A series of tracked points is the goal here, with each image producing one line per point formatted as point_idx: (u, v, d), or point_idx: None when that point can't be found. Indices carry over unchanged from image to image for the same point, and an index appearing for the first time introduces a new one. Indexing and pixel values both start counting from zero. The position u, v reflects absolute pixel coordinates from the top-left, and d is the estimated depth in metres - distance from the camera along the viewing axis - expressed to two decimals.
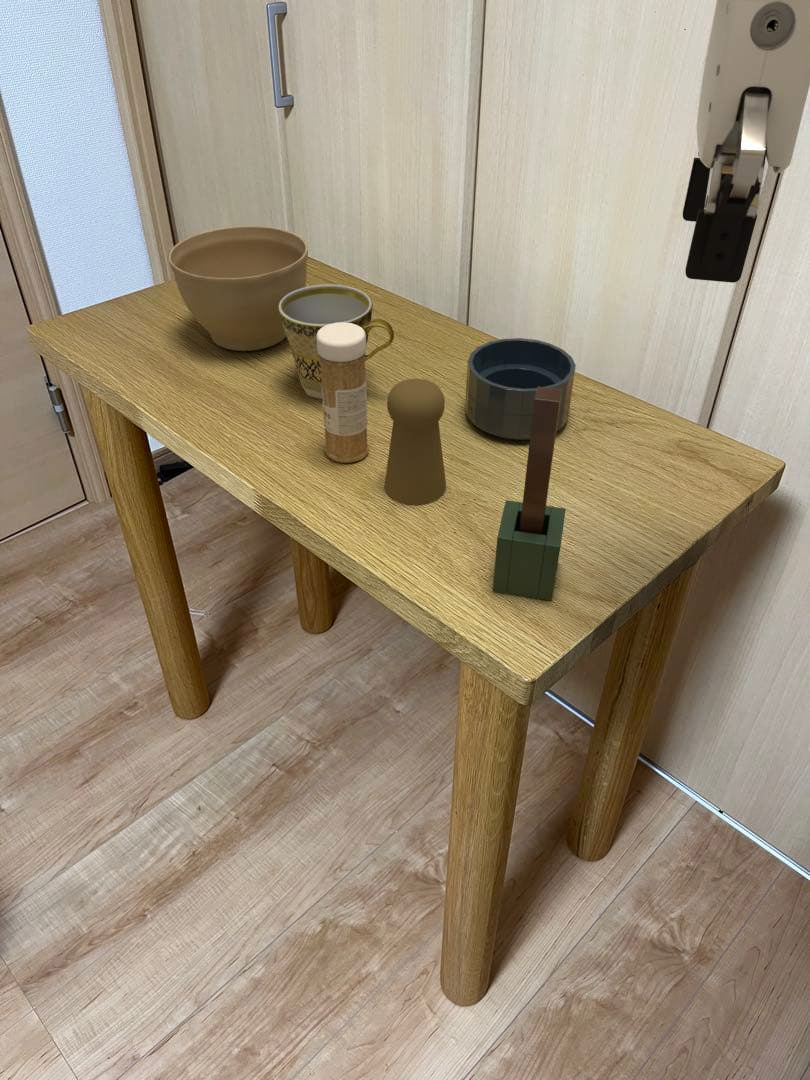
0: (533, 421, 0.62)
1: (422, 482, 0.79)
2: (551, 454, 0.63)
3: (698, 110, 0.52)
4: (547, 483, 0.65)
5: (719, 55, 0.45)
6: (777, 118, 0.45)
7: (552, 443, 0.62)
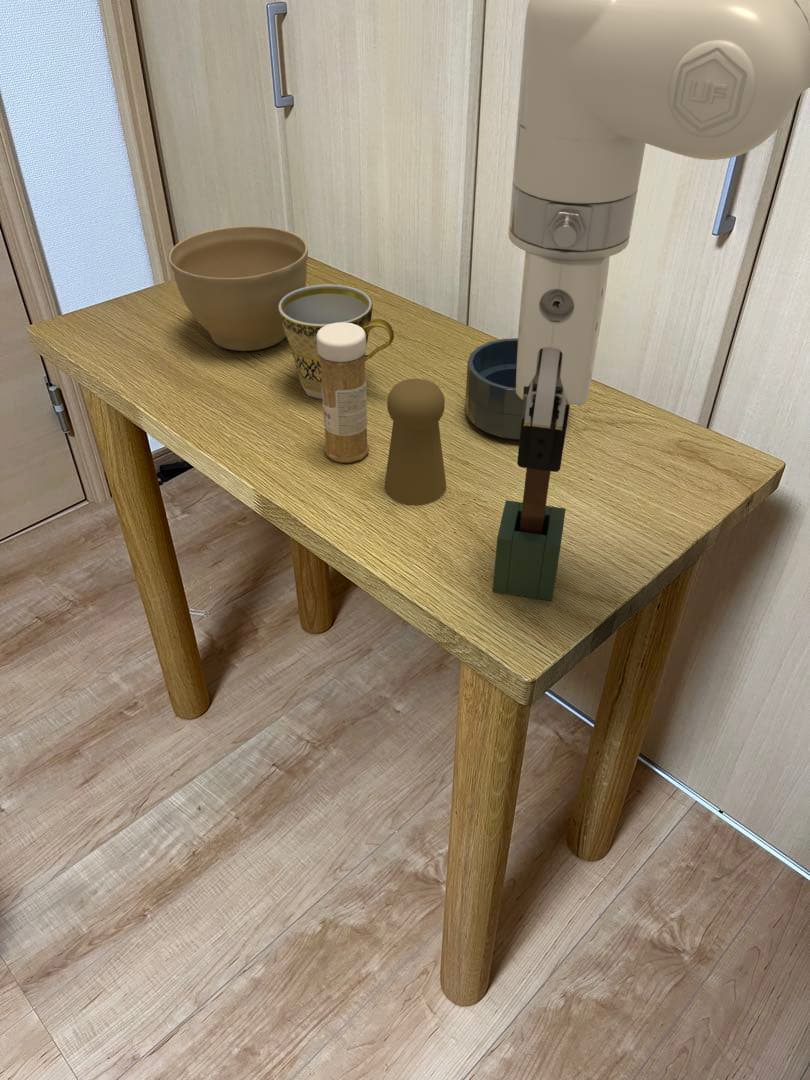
0: None
1: (422, 482, 0.79)
2: None
3: None
4: (547, 483, 0.65)
5: (520, 319, 0.54)
6: (569, 371, 0.54)
7: None
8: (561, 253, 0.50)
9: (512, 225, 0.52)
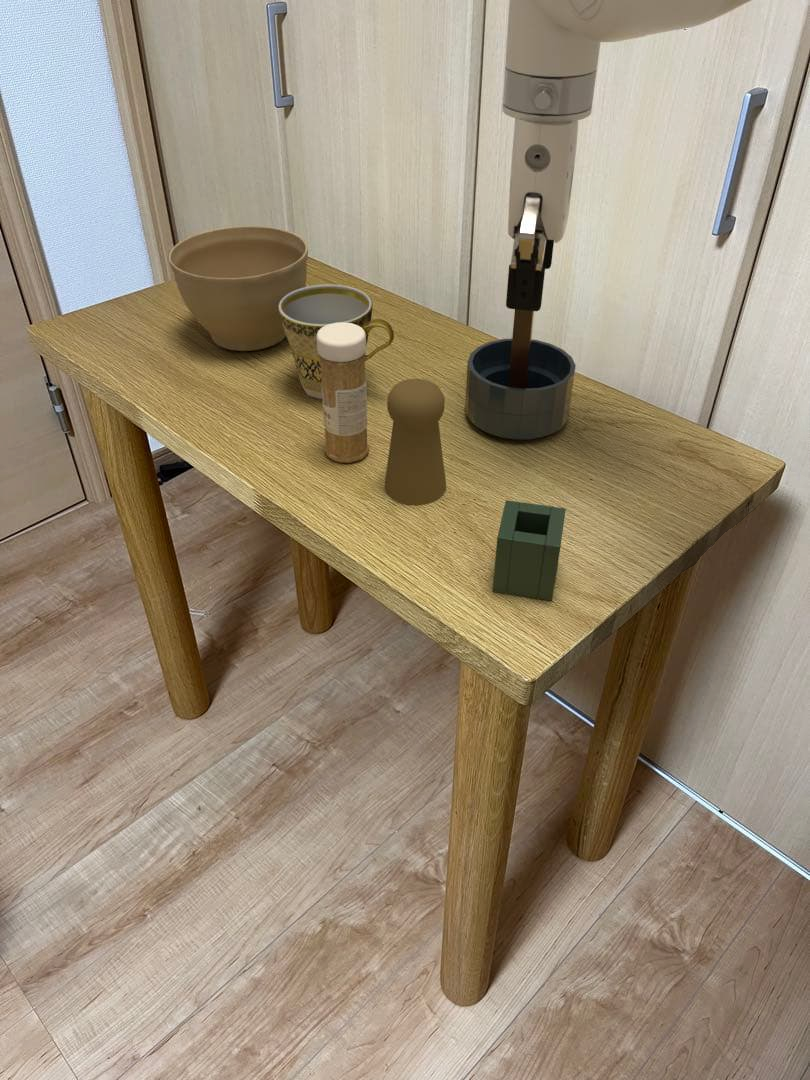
0: None
1: (422, 482, 0.79)
2: None
3: None
4: (531, 322, 0.84)
5: (511, 172, 0.72)
6: (547, 211, 0.72)
7: None
8: (540, 117, 0.69)
9: (505, 100, 0.71)
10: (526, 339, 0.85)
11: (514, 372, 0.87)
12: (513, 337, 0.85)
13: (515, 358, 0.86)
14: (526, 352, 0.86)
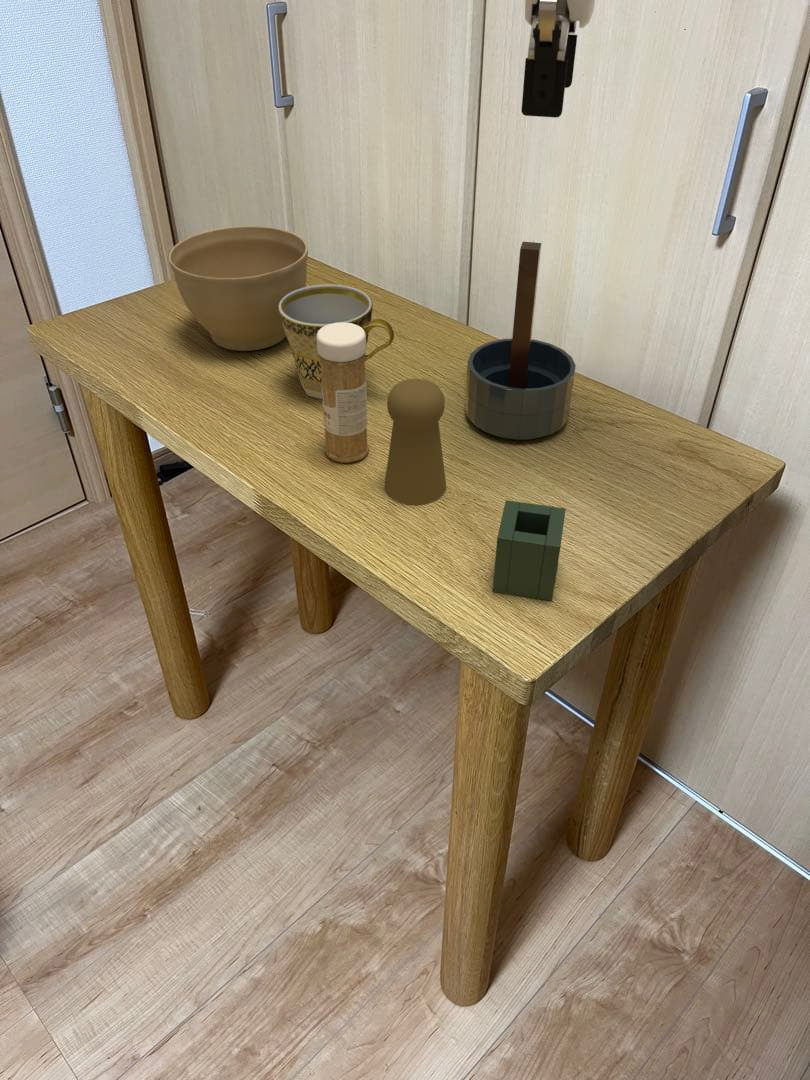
0: (519, 268, 0.80)
1: (422, 482, 0.79)
2: (533, 296, 0.82)
3: None
4: (531, 322, 0.84)
5: None
6: None
7: (534, 286, 0.81)
8: None
9: None
10: (526, 339, 0.85)
11: (514, 372, 0.87)
12: (513, 337, 0.85)
13: (515, 358, 0.86)
14: (526, 352, 0.86)
